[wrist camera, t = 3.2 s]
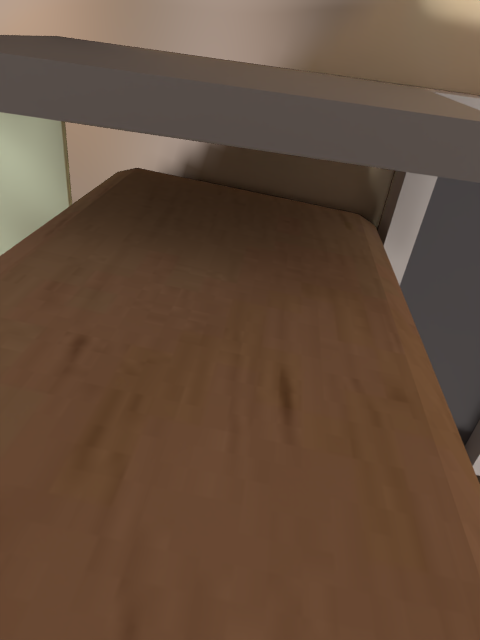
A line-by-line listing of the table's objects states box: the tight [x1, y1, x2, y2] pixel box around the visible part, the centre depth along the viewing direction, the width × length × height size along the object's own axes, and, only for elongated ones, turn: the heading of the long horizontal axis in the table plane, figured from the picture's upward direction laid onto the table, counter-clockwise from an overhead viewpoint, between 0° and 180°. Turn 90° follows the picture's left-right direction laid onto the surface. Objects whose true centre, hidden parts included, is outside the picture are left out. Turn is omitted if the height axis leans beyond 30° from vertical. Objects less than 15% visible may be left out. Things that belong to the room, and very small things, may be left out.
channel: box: [0, 35, 480, 183], centre depth 16 cm, size 16×12×8 cm
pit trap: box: [378, 87, 480, 476], centre depth 18 cm, size 16×8×2 cm, turn 174°
